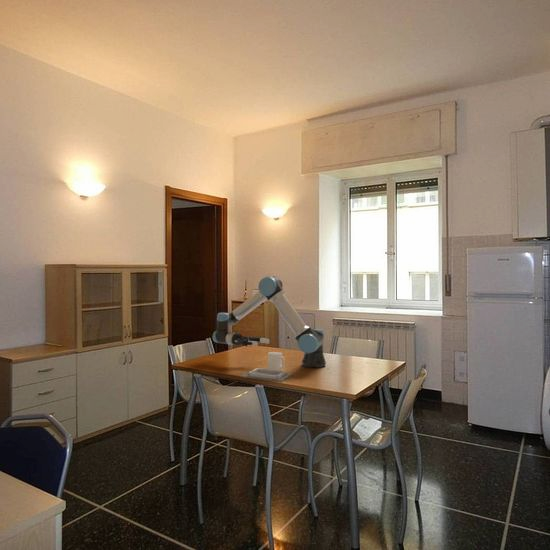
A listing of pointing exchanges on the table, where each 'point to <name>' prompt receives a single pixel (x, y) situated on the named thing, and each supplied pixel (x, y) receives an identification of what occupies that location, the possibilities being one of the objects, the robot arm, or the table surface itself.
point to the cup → (275, 361)
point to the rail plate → (267, 375)
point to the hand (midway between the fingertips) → (263, 342)
